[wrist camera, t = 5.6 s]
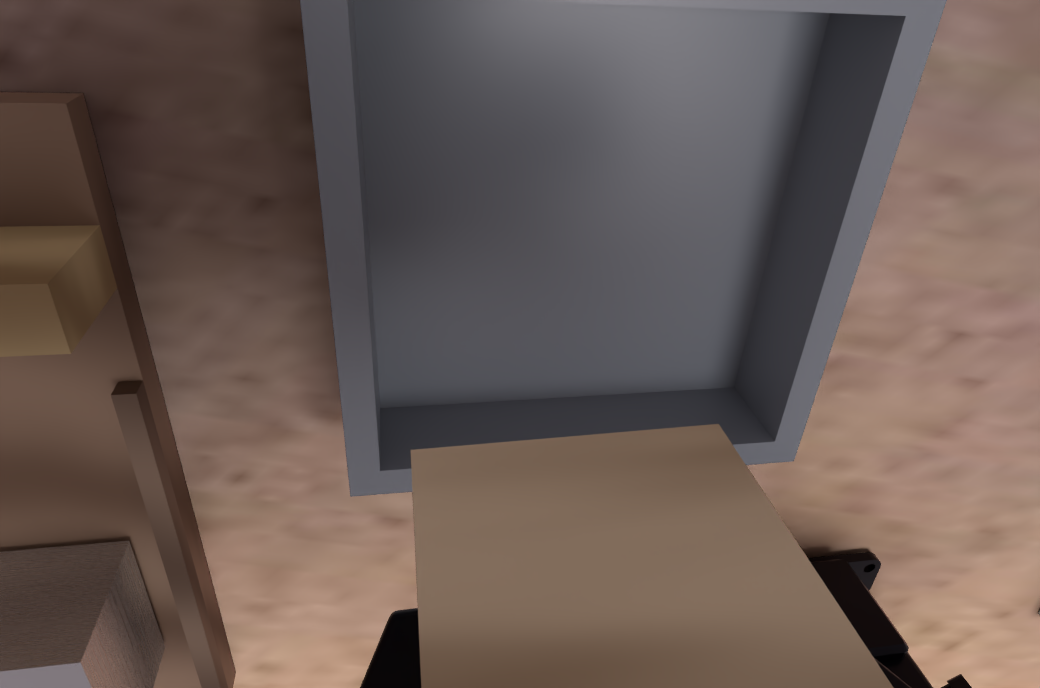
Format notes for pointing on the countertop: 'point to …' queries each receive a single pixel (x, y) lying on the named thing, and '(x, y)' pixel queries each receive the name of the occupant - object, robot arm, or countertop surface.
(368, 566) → the countertop surface
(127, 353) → the track
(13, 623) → the grey small block
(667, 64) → the tray
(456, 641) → the block
